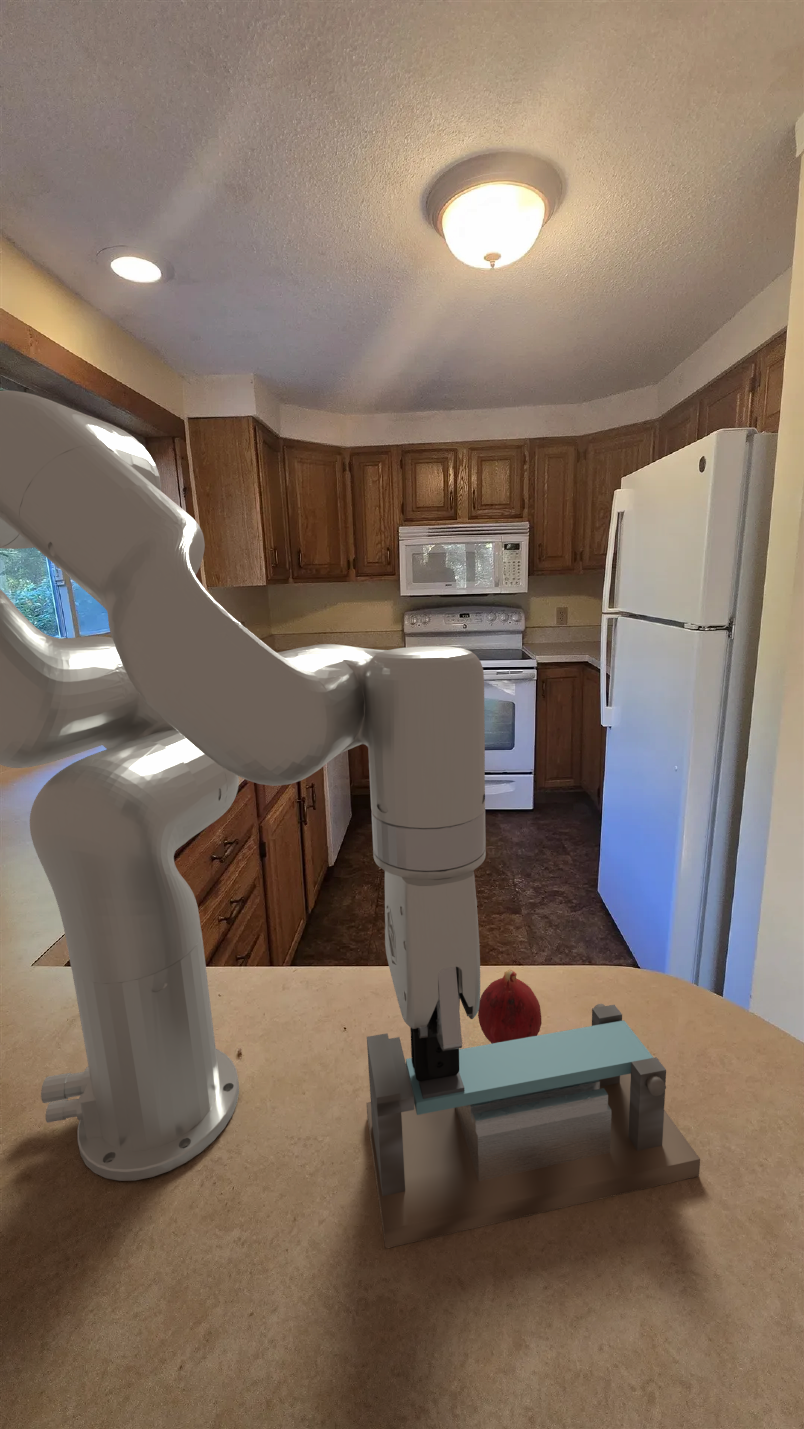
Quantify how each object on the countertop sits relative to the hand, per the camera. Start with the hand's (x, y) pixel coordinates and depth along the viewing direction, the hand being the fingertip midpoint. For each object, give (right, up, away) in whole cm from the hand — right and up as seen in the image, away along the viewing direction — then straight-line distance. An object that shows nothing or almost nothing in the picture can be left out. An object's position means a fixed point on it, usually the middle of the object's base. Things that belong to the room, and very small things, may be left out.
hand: (435, 1069), depth 42 cm
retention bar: (+7, -1, +1) cm, 7 cm away
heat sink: (+7, -6, +2) cm, 10 cm away
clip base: (+7, -7, +3) cm, 11 cm away
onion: (+8, -6, +12) cm, 16 cm away
